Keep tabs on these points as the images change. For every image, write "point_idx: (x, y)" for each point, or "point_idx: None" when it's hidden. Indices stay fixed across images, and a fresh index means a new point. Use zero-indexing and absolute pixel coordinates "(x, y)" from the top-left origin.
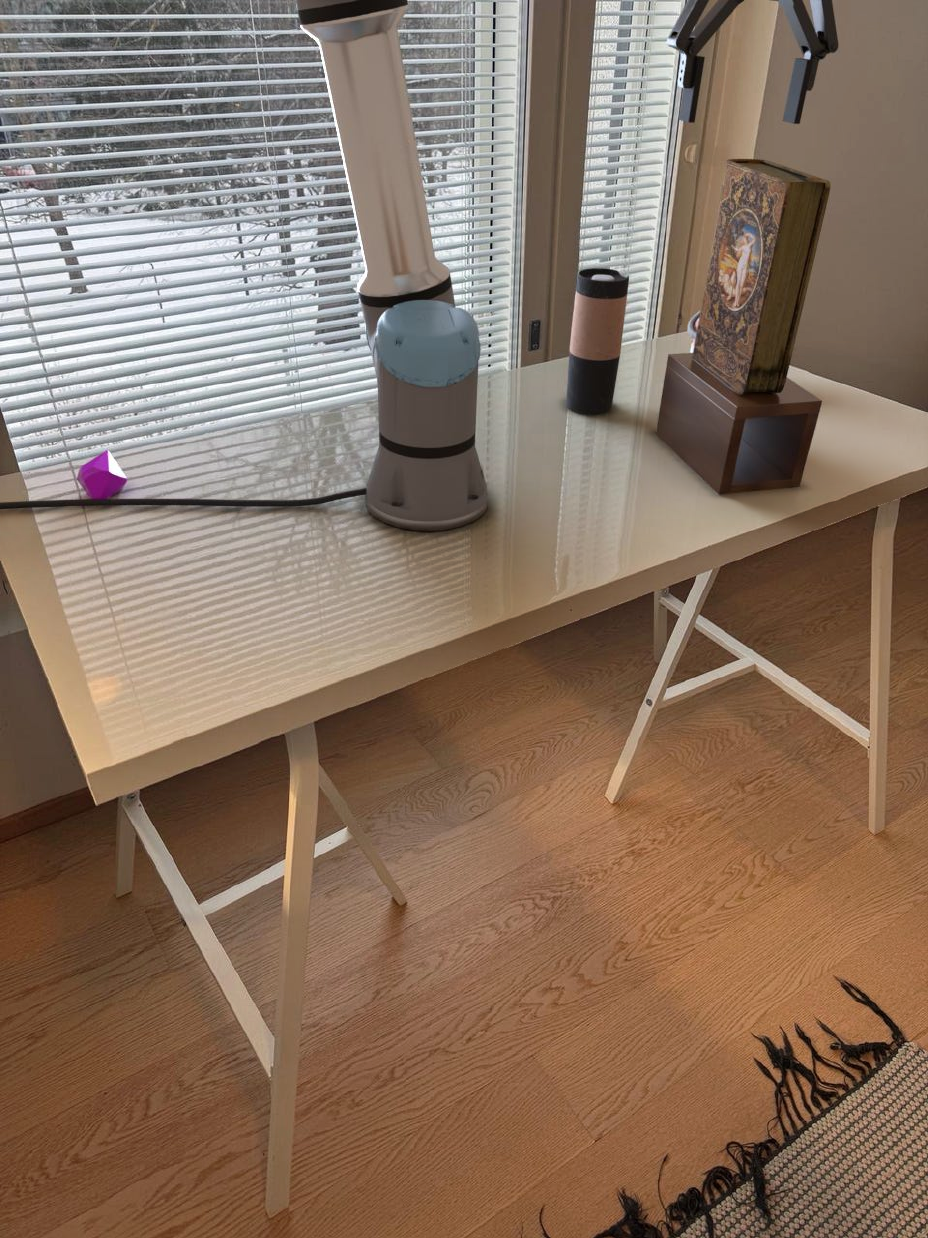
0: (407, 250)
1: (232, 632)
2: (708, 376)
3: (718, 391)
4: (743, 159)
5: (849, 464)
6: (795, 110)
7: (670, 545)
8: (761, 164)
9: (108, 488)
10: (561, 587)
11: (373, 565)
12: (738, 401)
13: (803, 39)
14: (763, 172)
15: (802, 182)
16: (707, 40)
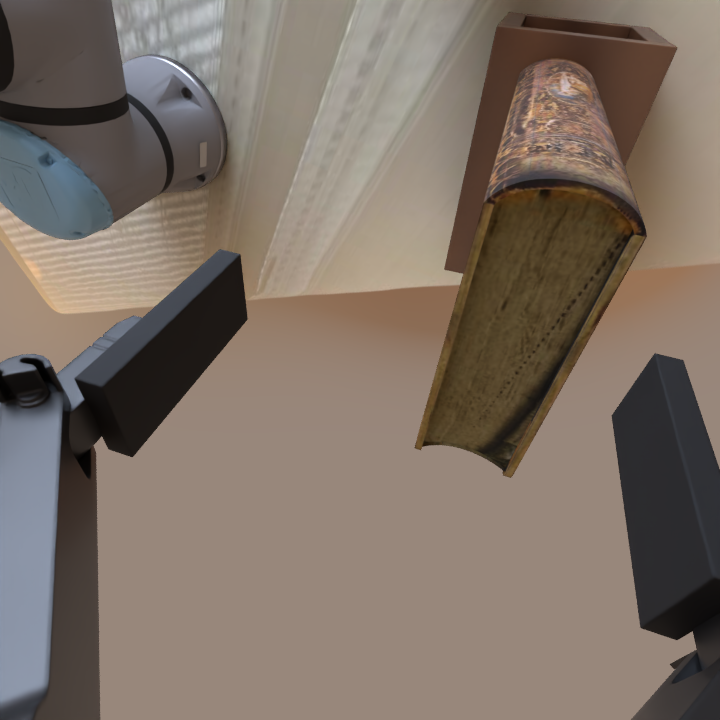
0: None
1: (74, 250)
2: (485, 163)
3: (456, 221)
4: (575, 191)
5: (691, 217)
6: (621, 441)
7: (359, 278)
8: (616, 234)
9: None
10: (260, 289)
11: (139, 213)
12: (457, 257)
13: (646, 711)
14: (440, 379)
15: (465, 448)
16: (92, 504)
